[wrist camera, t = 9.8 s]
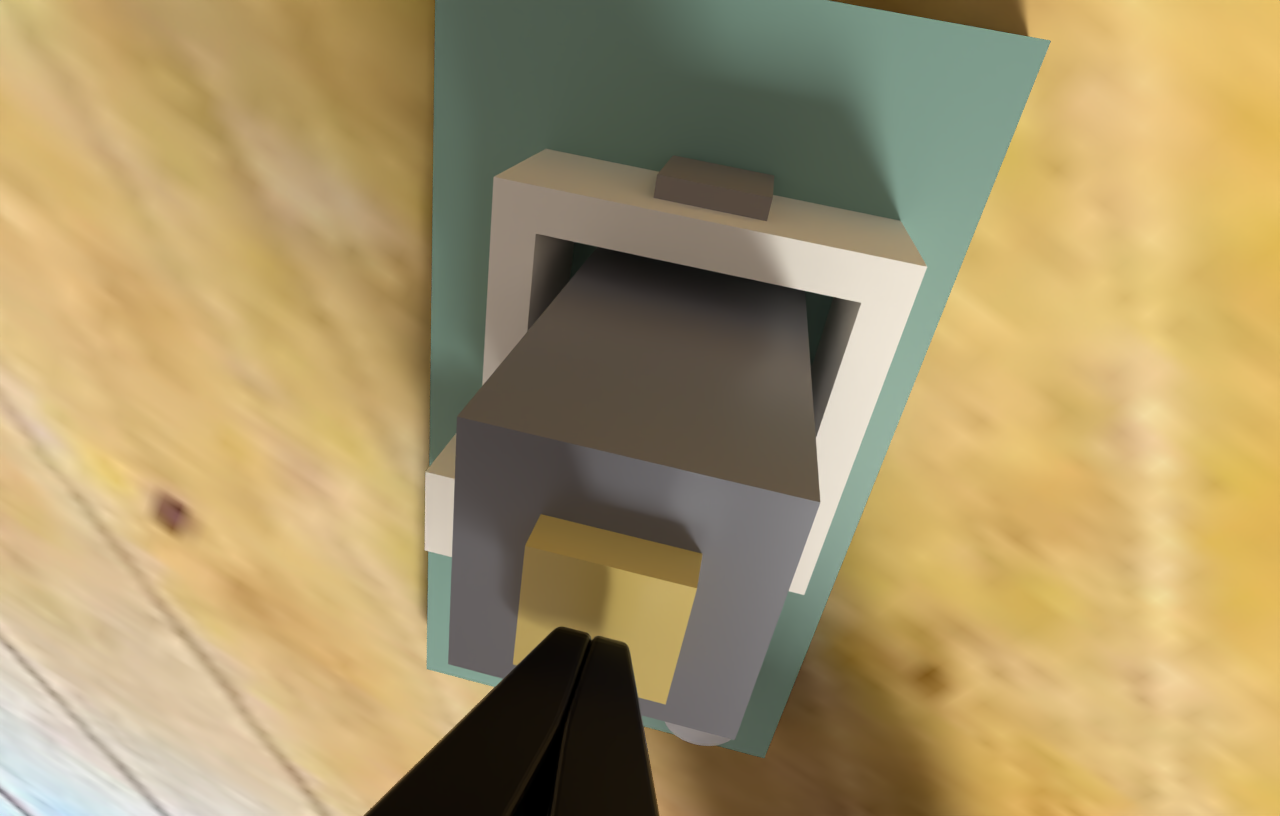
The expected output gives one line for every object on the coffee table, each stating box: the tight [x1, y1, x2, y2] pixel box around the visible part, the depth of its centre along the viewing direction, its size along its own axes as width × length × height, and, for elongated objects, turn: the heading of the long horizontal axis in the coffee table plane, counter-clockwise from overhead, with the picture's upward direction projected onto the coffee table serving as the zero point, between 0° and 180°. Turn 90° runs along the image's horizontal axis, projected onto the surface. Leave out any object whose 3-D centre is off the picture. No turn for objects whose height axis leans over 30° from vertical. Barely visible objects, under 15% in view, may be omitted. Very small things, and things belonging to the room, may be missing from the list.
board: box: [425, 0, 1051, 758], centre depth 17 cm, size 20×11×4 cm, turn 171°
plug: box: [448, 247, 820, 740], centre depth 12 cm, size 4×4×9 cm
